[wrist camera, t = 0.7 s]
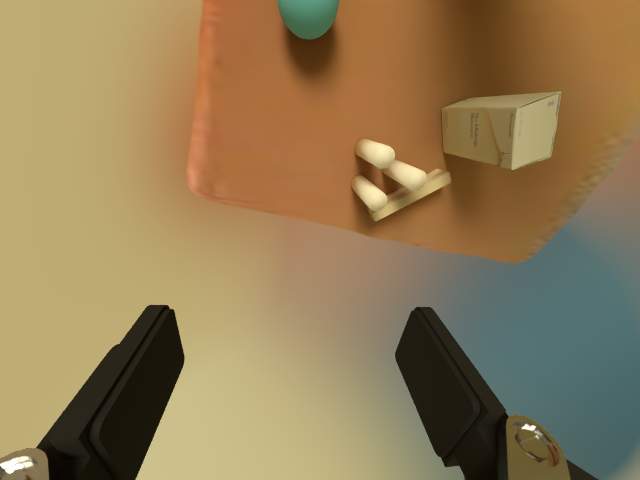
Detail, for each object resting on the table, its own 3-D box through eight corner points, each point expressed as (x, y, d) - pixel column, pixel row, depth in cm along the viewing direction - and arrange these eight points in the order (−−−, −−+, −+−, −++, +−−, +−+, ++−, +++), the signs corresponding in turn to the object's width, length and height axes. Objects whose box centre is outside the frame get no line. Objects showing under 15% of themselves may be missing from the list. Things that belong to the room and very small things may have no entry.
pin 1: (362, 172, 35) (383, 187, 28) (369, 186, 36) (390, 205, 29) (348, 180, 35) (364, 198, 28) (354, 194, 36) (371, 214, 29)
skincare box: (440, 108, 32) (515, 104, 22) (472, 96, 32) (564, 87, 21) (442, 154, 35) (510, 172, 25) (472, 144, 35) (553, 157, 24)
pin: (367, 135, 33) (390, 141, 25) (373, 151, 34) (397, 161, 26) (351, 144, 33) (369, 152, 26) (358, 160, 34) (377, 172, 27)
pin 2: (394, 154, 34) (423, 166, 27) (399, 169, 35) (429, 184, 28) (379, 163, 35) (403, 176, 27) (384, 177, 36) (410, 194, 28)
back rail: (437, 168, 36) (449, 172, 33) (439, 177, 37) (451, 182, 34) (365, 206, 38) (371, 213, 35) (369, 214, 38) (375, 221, 36)
